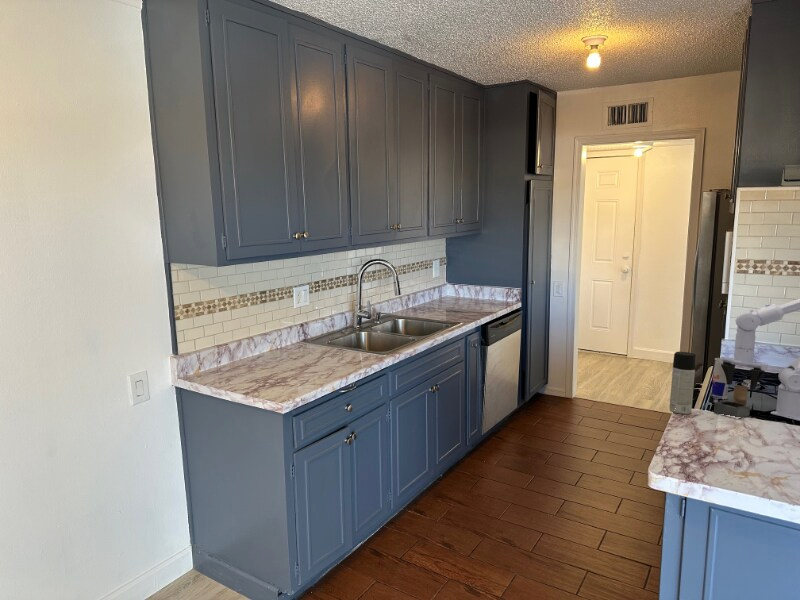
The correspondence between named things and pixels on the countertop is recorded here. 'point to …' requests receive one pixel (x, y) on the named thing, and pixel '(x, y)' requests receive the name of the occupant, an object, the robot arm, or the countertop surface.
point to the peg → (740, 394)
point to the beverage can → (719, 381)
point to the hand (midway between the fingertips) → (740, 386)
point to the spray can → (682, 382)
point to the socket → (731, 408)
